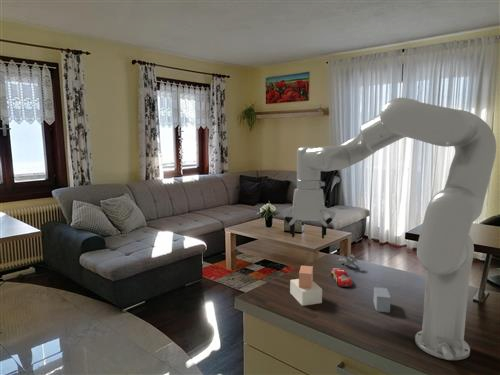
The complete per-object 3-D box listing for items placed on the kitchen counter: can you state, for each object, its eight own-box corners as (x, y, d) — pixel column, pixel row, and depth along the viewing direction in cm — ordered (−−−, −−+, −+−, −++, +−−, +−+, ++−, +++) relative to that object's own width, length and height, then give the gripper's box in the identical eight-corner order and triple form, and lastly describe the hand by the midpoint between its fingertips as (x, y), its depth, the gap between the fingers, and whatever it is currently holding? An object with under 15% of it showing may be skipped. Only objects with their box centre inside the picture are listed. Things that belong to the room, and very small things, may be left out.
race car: (353, 289, 130) (354, 278, 130) (338, 289, 130) (338, 278, 130) (343, 274, 143) (344, 265, 143) (330, 274, 143) (330, 265, 143)
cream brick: (321, 303, 119) (322, 289, 118) (302, 306, 117) (302, 291, 116) (308, 291, 128) (308, 277, 128) (290, 293, 127) (290, 279, 126)
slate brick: (389, 312, 112) (390, 297, 112) (376, 311, 113) (377, 296, 113) (386, 302, 119) (387, 288, 119) (373, 301, 120) (374, 287, 119)
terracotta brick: (311, 288, 119) (311, 274, 118) (298, 287, 120) (299, 272, 119) (312, 280, 125) (312, 266, 125) (300, 279, 126) (301, 265, 126)
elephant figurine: (352, 262, 157) (365, 261, 149) (346, 274, 155) (359, 274, 147) (335, 248, 156) (347, 247, 147) (328, 260, 153) (341, 259, 145)
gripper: (335, 184, 119) (334, 235, 122) (283, 183, 123) (283, 233, 125) (336, 187, 112) (335, 241, 114) (280, 186, 116) (280, 238, 118)
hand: (308, 236), depth 120 cm, fingers open, 9 cm apart
